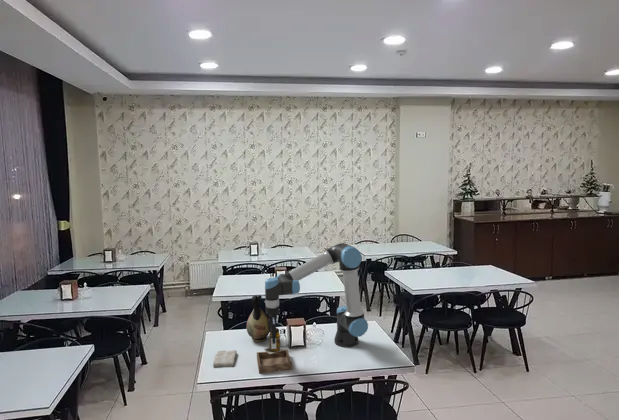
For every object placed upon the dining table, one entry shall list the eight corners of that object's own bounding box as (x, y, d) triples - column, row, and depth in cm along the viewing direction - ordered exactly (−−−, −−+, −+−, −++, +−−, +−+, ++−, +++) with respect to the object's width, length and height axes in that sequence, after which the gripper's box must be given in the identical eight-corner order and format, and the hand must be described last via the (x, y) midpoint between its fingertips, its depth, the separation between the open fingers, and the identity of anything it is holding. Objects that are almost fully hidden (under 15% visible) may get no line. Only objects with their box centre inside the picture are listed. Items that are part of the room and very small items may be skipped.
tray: (287, 355, 259) (287, 349, 258) (292, 370, 241) (291, 363, 241) (256, 359, 255) (256, 352, 255) (259, 373, 238) (258, 366, 237)
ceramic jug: (250, 334, 293) (249, 290, 289) (273, 334, 290) (271, 290, 287) (243, 344, 276) (241, 298, 273) (267, 345, 274) (265, 299, 270)
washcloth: (237, 353, 264) (236, 348, 264) (234, 367, 247) (234, 361, 246) (217, 354, 263) (216, 349, 263) (212, 368, 246) (212, 363, 245)
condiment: (283, 350, 246) (282, 330, 245) (269, 354, 242) (269, 333, 240) (276, 346, 252) (276, 326, 251) (263, 349, 248) (263, 329, 246)
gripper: (264, 301, 253) (265, 340, 256) (267, 312, 234) (268, 353, 237) (277, 300, 254) (277, 338, 257) (281, 311, 236) (281, 352, 238)
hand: (273, 345), depth 247 cm, fingers closed on condiment, 6 cm apart
